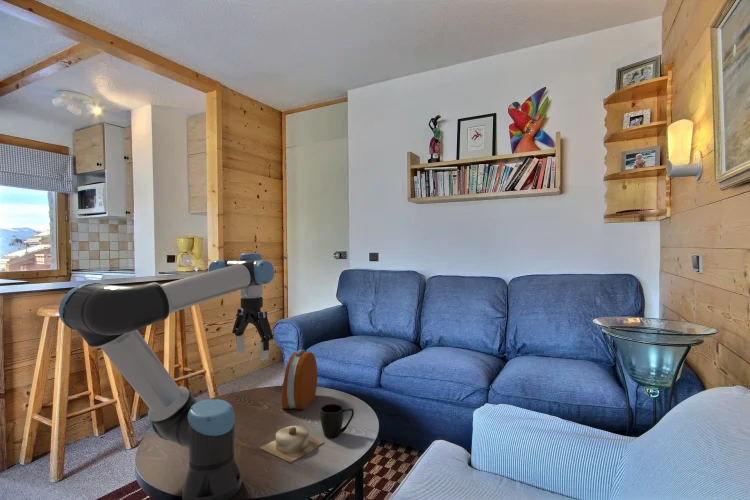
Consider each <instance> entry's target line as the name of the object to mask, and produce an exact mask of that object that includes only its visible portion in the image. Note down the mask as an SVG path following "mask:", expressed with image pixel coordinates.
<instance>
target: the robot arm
mask: <svg viewBox="0 0 750 500" xmlns="http://www.w3.org/2000/svg"><path fill="white" fill-rule="evenodd" d="M274 277H275V268H274V264H272V262H270V261H269V260H266V259H265V260H264V259H263V256H262V254H261V253H253V252H252V253H248V252H247V253H246V252H245V253H241V254H240V255H239V259H238V258H237V259H218V260H213V261H211V262H210V264H209V265H208V270H207V272H203V273H200V274H196V275H191V276H188V277H185V278H181V279H177V280H173V281H170V282H166V283H162V284H160V283H158V282H155V281H154V282H150V283H147V284H146V283H145V284H139V285H119V284H118V285H117V284H116V285H115V284H104V283H100V282H91V283H85V284H80V285H77V286H75V287H73V288H71V289H70V290H68V292H67V293H65V295H64V296H63V297H62V299H61V301H60V304H59V306H58V315H59V318H60V321H61V322H62V323H63V324H64V325H65V326H66V327H68V328H69V329H71V330H73V331H76V332H77V333H79V335H80V336H81V337H82V339H83V340H84V341H85V342H86V343H87V344H88V346H89V347H90V348H93V349H95V348H96V349H97V348H99V349H101V350H102V351H103V353H104V354H105V355H106V356H107V358H108V359H109V360H110V361H111V363H112V364H113V365H114V366H115V367H116V369H117V370H118V371H119V372H120V373H121V375H122V376H123V377H124V379H125V380H126V381H127V383H128V384H129V385H130V386H131V387H132V389H133V390H134V391H135V392H136V393H137V395H138V396H139V398H141V400H142V401H143V402H144V404H145V405H146V406H147V407H148V408H149V409H148V411H147V418H148V419H149V424H150V427H151V430H152V431H153V433H155V435H156V436H158V438H159V439H160V438H161V439H162V440H165V441H170V442H172V443H175V444H176V445H179V446H181V447H184V448H185V449H186V448H187V449H188V469H187V471H186V474H185V475H186V476H185V478H184V482H183V484H182V487H181V488H182V490H181V499H182V500H230V499H231V498H233V497H235V495H236V494H237V493H238V492H239V491H240V489H241V487H242V474H241V473H242V472H240V468H239V466H238V463H237V460H236V458H235V433H236V432H235V431H236V430H235V423H236V422H235V421H236V418H235V411H234V407H233V406H232V404H231V403H230V402H228V401H227V400H223V399H221V398H220V399H219V398H216V399H213V398H208V399H203V400H199V401H197V400H196V399H195V397H194V395H193V394H192V393H191V392H190V390H189V389H188V388H187V387H185V386H179V385H178V384H177V382H176V381H175V379H173V377H172V376H171V374H170V373H169V372H168V370H167V368H165V366H164V364H162V363H163V362H161V361H160V359H159V358H158V356H157V355H156V353H155V352H154V351H153V349H152V347H150V345H149V344H148V343H147V341H146V339H144V337H143V335H141V333H140V331H139V329H140V330H141V329H143V328H146V327H148V326H150V325H151V326H152V325H154V324H157V323H160V322H162V321H164V320H166V319H168V318H169V316H170V314H173V313H176V312H178V311H182V310H184V309H188V308H190V307H193V306H196V305H198V304H201V303H204V302H207V301H210V300H213V299H216V298H219V297H221V296H222V297H223V296H225V295H228V294H231V293H234V292H236V291H240V292H239V293H240V294H239V295H240V297H241V298H240V308H238V309H237V312H236V313H237V314H236V317H235V321H234V324H233V327H232V331H231V333H232V334H234V336H235V337H236V340H235V341H236V342H235V343H236V355H242V354H245V350H246V349H245V330H246V329H247V327H248V325H249V324H252V325H253V326H254V327H255V329H256V331H257V333H258V335H259V337H260V339H261V340H260V345H259V347H260V348H259V350H260V354H259V355H260V361H265V360H269V350H270V347H269V346H270V341H271V340H273V339H274V335H273V332H272V328H271V325H270V322H269V318H268V313H267V311H266V310H265V311H261V309H262V308H263V306H264V297H263V293H264V292H263V291H264V289H263V285H268V284H270V283H271V282H272V281H273V279H274Z"/></svg>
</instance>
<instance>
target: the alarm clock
mask: <svg viewBox="0 0 750 500" xmlns="http://www.w3.org/2000/svg"><path fill="white" fill-rule="evenodd" d="M314 354H315V353H313V352H311V351H305V349H298V350H297V351H294V352H292V354H291V355H290V356H289V359H288V361H287V363H286V365H285V366H286V368H285V370H284V371H285V372H284V375H283V382H282V389H281V390H282V392H281V409H283V410H285V409H286V410H292V409H296V410H297V411H298V410H299V411H300V410H301V411H303V410H305V409H306V408H307V407H308V406H309V404H310V403H311V402H313V400H314V399H315V397H316V392H317V387H318V366H317V365H318V364H317V360H316V357H315V355H314Z"/></svg>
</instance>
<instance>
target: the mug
mask: <svg viewBox="0 0 750 500" xmlns="http://www.w3.org/2000/svg"><path fill="white" fill-rule="evenodd" d="M349 411H351V416H350V417H349V419H348V421H347V422H346V424H345V425H344V427H343V423H344V422H343V421H344V413H346V412H349ZM319 413H320V414H319V415H320V417H319V419H320V425H321V429H322V432H323V436H324V437H325V438H327V439H336V438H338V437H339V436H340V434H342V433H344V432H345V431H346V429H348V426H349V424H350V423H351V422H352V419H353V418H354V416H355V415H354V414H355V411H354V408H351V407H348V408H344V406H342V405H341V404H338V403H328V404H324V405H322V406H321V407H320V411H319Z"/></svg>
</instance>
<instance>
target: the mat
mask: <svg viewBox="0 0 750 500" xmlns="http://www.w3.org/2000/svg"><path fill="white" fill-rule="evenodd" d="M324 443H325V442H324V441H322V440H319V439H316V438H315V437H312V436H309V445H308V447H307V448H306V449H304V450H303V451H300V452H297V453H291V454H287V453H281V452H279V451H278V450H277V449H276V439H274V440H272V441H270V442H268V443H265V444H264V445H262V446H260V447H259V449H260V451H263V452H265V453H268V454H270V455H272V456H274V457H276V458H279V459H280V460H282V461H284V462H287V463H289V464H291V463H293V462H295V461H297V460H298V459H300V458H301V457H303V456H305V455H307V454H308V453H310V452H312V451H313V450H315V449H316V448H317V449H318V448H319V447H321V445H323V444H324Z"/></svg>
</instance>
